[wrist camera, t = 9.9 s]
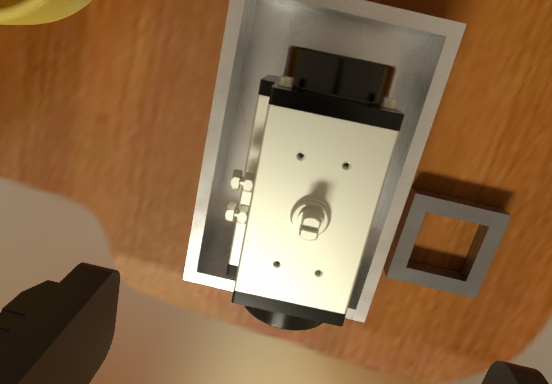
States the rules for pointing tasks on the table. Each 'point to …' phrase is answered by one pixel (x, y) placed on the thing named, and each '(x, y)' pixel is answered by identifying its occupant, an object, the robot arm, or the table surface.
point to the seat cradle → (271, 60)
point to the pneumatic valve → (311, 187)
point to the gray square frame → (478, 255)
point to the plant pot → (37, 10)
